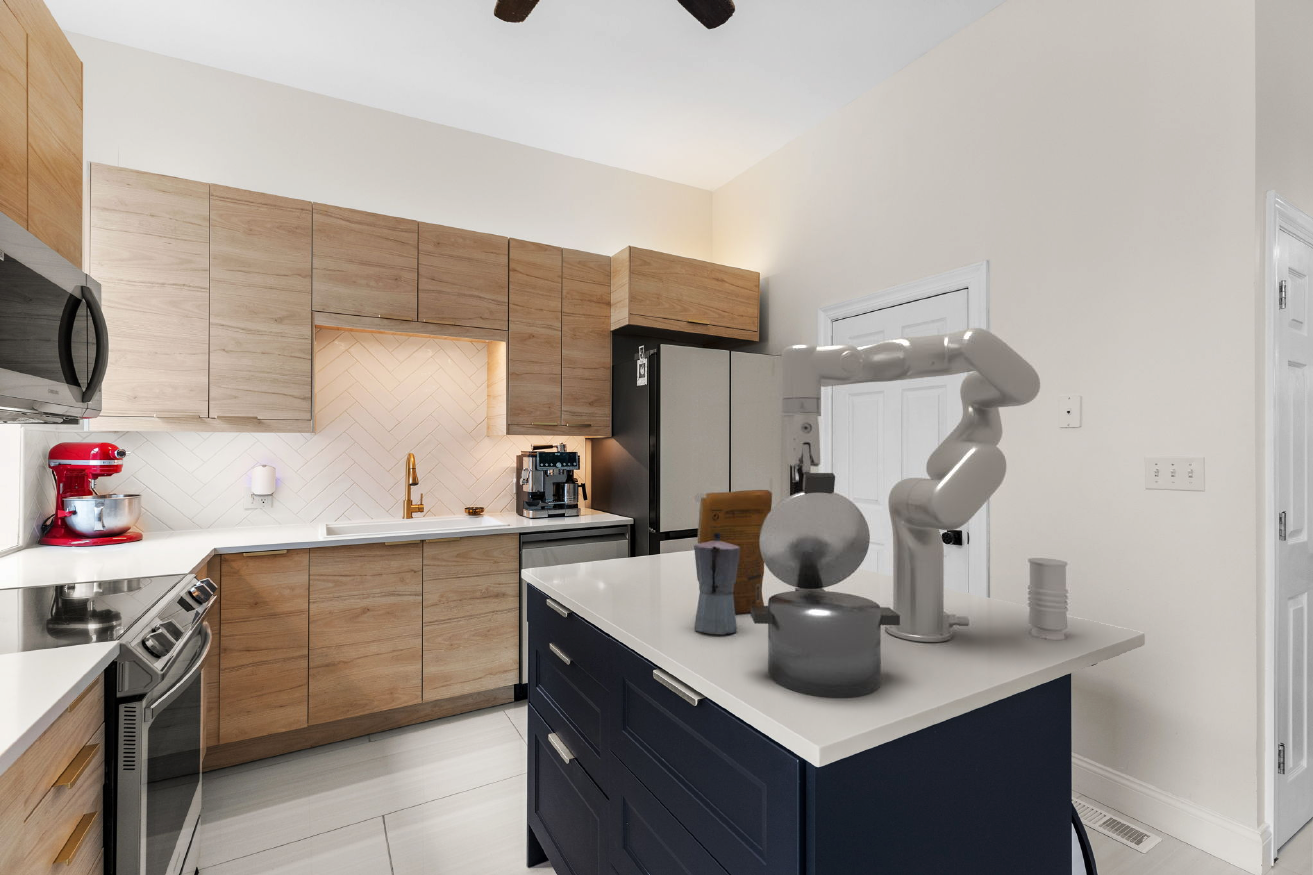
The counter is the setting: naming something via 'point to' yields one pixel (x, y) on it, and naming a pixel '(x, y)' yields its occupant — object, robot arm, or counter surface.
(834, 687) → the cooker pot
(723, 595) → the moka pot
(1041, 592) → the grey ribbed canister
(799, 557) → the lid
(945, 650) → the counter surface
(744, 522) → the pancake mix bag
